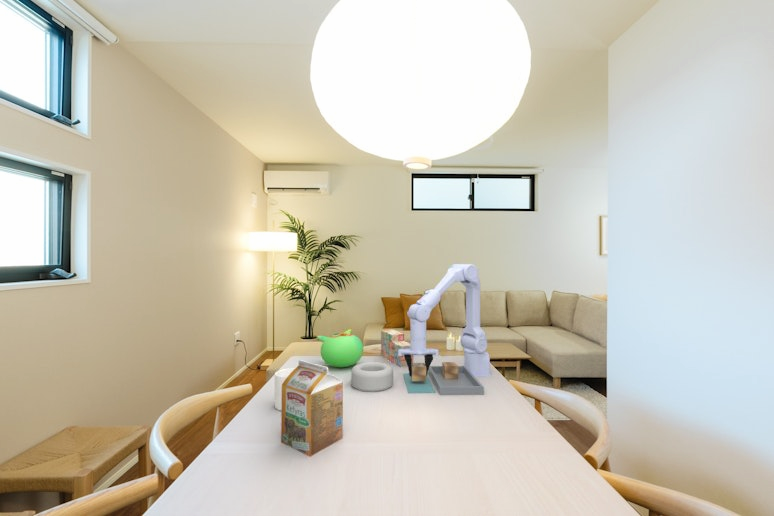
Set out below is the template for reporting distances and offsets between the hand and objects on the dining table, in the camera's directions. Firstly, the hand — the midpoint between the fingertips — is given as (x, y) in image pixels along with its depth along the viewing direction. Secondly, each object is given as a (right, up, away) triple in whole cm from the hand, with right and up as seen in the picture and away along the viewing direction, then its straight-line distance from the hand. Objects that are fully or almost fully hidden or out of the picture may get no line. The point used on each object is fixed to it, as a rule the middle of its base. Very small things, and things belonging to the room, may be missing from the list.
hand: (418, 375), depth 128 cm
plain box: (+13, -3, +7) cm, 15 cm away
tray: (+13, -3, +1) cm, 13 cm away
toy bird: (-30, -3, +22) cm, 38 cm away
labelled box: (0, -1, 0) cm, 1 cm away
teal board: (0, -3, 0) cm, 3 cm away
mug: (-40, -3, -21) cm, 45 cm away
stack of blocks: (-7, -4, +30) cm, 31 cm away
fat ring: (-17, -4, -1) cm, 17 cm away
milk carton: (-30, -3, -40) cm, 50 cm away
